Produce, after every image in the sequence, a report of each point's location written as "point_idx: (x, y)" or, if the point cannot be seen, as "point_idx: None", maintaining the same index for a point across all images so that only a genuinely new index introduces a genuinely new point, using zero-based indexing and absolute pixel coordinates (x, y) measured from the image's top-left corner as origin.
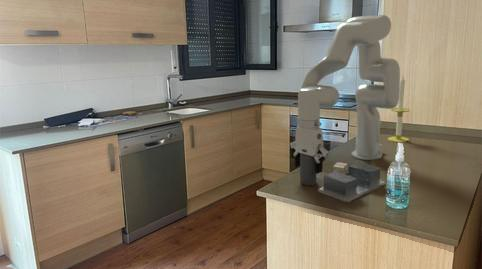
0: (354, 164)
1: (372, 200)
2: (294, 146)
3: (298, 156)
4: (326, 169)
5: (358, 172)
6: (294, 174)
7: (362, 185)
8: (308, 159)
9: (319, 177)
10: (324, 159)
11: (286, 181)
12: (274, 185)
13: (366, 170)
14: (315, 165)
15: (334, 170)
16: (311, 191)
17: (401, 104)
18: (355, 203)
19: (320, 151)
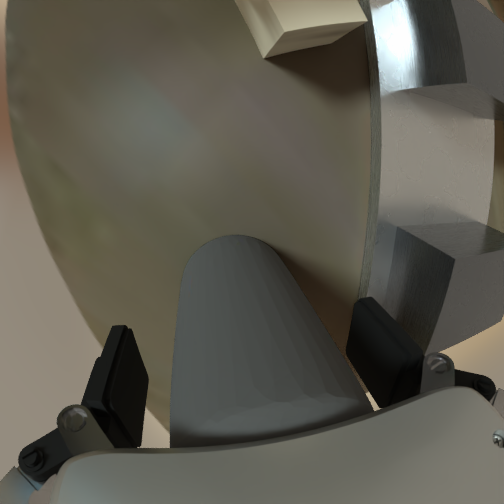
0: (462, 28)
1: (501, 214)
2: (41, 498)
3: (123, 430)
4: (141, 6)
5: (490, 104)
6: (71, 256)
7: (472, 134)
8: None
9: (217, 155)
10: (464, 380)
11: (146, 357)
12: (163, 409)
13: None
14: (375, 396)
15: (285, 42)
16: None
17: None
18: None
19: (444, 410)
